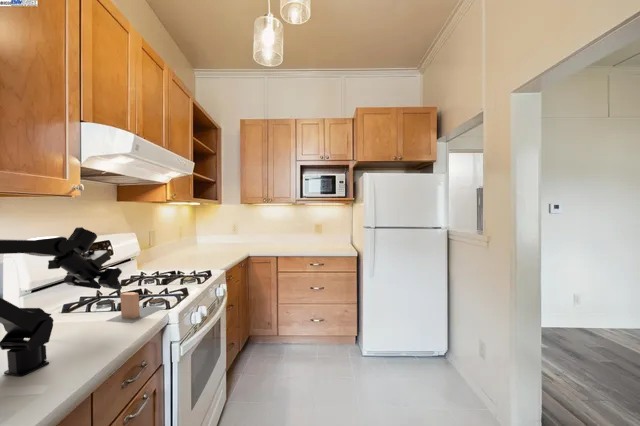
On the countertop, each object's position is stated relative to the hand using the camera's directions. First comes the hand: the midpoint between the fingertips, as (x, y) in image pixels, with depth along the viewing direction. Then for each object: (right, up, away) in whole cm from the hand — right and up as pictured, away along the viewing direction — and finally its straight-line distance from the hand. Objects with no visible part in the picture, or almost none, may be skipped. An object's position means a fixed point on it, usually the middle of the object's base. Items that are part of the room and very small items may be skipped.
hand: (110, 288), depth 103 cm
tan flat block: (+2, -13, +8) cm, 15 cm away
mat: (+3, -13, +11) cm, 17 cm away
